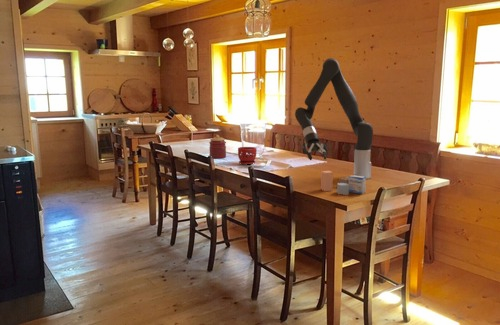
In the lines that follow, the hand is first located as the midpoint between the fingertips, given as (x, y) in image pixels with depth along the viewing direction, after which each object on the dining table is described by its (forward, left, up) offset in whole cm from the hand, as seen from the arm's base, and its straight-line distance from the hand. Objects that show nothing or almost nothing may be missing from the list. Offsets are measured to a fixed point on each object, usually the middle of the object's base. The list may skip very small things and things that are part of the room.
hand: (318, 159), depth 238 cm
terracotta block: (0, +11, -15) cm, 19 cm away
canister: (+37, -108, -15) cm, 115 cm away
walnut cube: (-13, +8, -15) cm, 22 cm away
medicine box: (-13, +20, -15) cm, 29 cm away
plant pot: (+22, -74, -15) cm, 78 cm away
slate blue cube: (-5, +20, -15) cm, 26 cm away
